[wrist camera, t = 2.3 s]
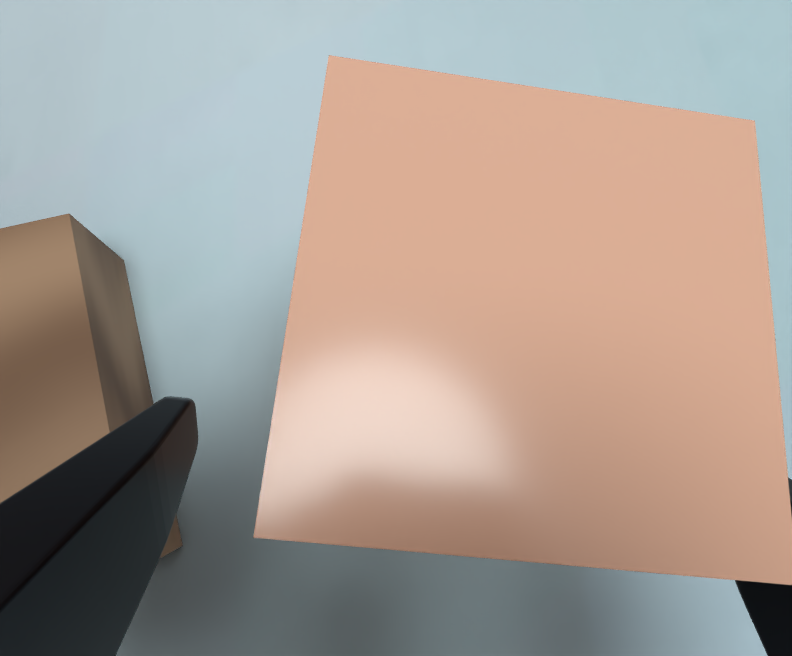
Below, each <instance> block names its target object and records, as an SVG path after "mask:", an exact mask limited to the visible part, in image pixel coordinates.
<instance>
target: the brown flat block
mask: <svg viewBox="0 0 792 656" xmlns="http://www.w3.org/2000/svg"><path fill="white" fill-rule="evenodd" d="M152 405H153V400H152V395H151V390H150V385H149V380H148V375H147V371H146V366H145V361H144V356H143V351H142V346H141V341H140V337H139V332H138V327H137V322H136V317H135V312H134V307H133V303H132V298H131V293H130V288H129V283H128V278H127V274H126V269H125V264H124V260H123V259H122V258H120V257H119V256H118V255H117V254H116V253H115V252H113V251H112V250H111V249H110V248H109V247H108V246H106V245H105V244H104V243H103V242H102V241H101V240H99V239H98V238H97V237H96V236H95V235H94V234H92V233H91V232H90V231H89V230H88V229H87V228H85V227H84V226H83V225H82V224H81V223H80V222H78V221H77V220H76V219H75V218H74V217H73V216H71V215H70V214H65V215H60V216H56V217H51V218H47V219H42V220H37V221H33V222H28V223H24V224H19V225H15V226H10V227H6V228H1V229H0V503H1V502H3V501H4V500H6V499H7V498H9V497H10V496H12V495H13V494H15V493H17V492H18V491H20V490H21V489H23V488H24V487H26V486H27V485H29V484H31V483H32V482H34V481H35V480H37V479H38V478H40V477H41V476H43V475H45V474H46V473H48V472H49V471H51V470H52V469H54V468H55V467H57V466H58V465H60V464H62V463H63V462H65V461H66V460H68V459H69V458H71V457H72V456H74V455H76V454H77V453H79V452H80V451H82V450H83V449H85V448H86V447H88V446H90V445H91V444H93V443H94V442H96V441H97V440H99V439H100V438H102V437H104V436H105V435H107V434H108V433H110V432H111V431H113V430H114V429H116V428H118V427H119V426H121V425H122V424H124V423H125V422H127V421H128V420H130V419H132V418H133V417H135V416H136V415H138V414H139V413H141V412H142V411H144V410H145V409H147V408H149V407H150V406H152ZM181 546H183V545H182V540H181V536H180V531H179V526H178V521H177V516H175V519H174V522H173V525H172V528H171V531H170V534H169V537H168V539H167V542H166V544H165V547H164V549H163V551H162V554H161V556H160V558H162V557H164V556H165V555H167V554H169V553H171V552H172V551H174V550H176V549H178V548H179V547H181ZM160 558H159V559H160Z"/></svg>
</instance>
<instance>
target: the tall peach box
mask: <svg viewBox="0 0 792 656" xmlns="http://www.w3.org/2000/svg"><path fill="white" fill-rule="evenodd" d="M253 538H263V539H274V540H285V541H297V542H308V543H319V544H331V545H342V546H354V547H365V548H376V549H388V550H399V551H410V552H422V553H433V554H445V555H456V556H467V557H479V558H490V559H501V560H513V561H524V562H535V563H547V564H558V565H570V566H581V567H592V568H604V569H615V570H626V571H638V572H649V573H661V574H672V575H683V576H695V577H706V578H717V579H729V580H740V581H752V582H763V583H774V584H786V585H792V516H791V505H790V494H789V483H788V473H787V462H786V451H785V440H784V430H783V419H782V408H781V397H780V387H779V376H778V365H777V354H776V343H775V333H774V322H773V311H772V300H771V290H770V279H769V268H768V257H767V247H766V236H765V225H764V214H763V204H762V193H761V182H760V171H759V161H758V150H757V139H756V128H755V121H753V120H746V119H740V118H733V117H727V116H720V115H714V114H707V113H701V112H694V111H688V110H681V109H675V108H668V107H662V106H655V105H649V104H642V103H636V102H629V101H623V100H616V99H610V98H603V97H597V96H590V95H584V94H577V93H571V92H564V91H558V90H551V89H545V88H538V87H532V86H525V85H519V84H512V83H506V82H499V81H493V80H486V79H480V78H473V77H467V76H460V75H454V74H447V73H441V72H434V71H428V70H421V69H415V68H408V67H402V66H395V65H389V64H382V63H376V62H369V61H363V60H356V59H350V58H343V57H337V56H330V55H329V58H328V64H327V71H326V77H325V84H324V90H323V96H322V103H321V109H320V115H319V122H318V128H317V135H316V141H315V147H314V154H313V160H312V166H311V173H310V179H309V186H308V192H307V198H306V205H305V211H304V217H303V224H302V230H301V236H300V243H299V249H298V256H297V262H296V268H295V275H294V281H293V287H292V294H291V300H290V307H289V313H288V319H287V326H286V332H285V338H284V345H283V351H282V358H281V364H280V370H279V377H278V383H277V389H276V396H275V402H274V409H273V415H272V421H271V428H270V434H269V440H268V447H267V453H266V460H265V466H264V472H263V479H262V485H261V491H260V498H259V504H258V510H257V517H256V523H255V530H254V536H253Z"/></svg>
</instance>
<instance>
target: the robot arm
mask: <svg viewBox="0 0 792 656" xmlns="http://www.w3.org/2000/svg"><path fill="white" fill-rule="evenodd" d="M197 446H198V428H197V418H196V407H195V403H194V401H193V400H192V399H190V398H182V397H172V396H169V397H165V398H163V399H161V400H159V401H158V402H156V403H155V404H153V405H152V406H150V407H149V408H147V409H145V410H144V411H142V412H141V413H139V414H138V415H136V416H135V417H133V418H132V419H130V420H128V421H127V422H125V423H124V424H122V425H121V426H119V427H118V428H116V429H114V430H113V431H111V432H110V433H108V434H107V435H105V436H104V437H102V438H100V439H99V440H97V441H96V442H94V443H93V444H91V445H90V446H88V447H86V448H85V449H83V450H82V451H80V452H79V453H77V454H76V455H74V456H72V457H71V458H69V459H68V460H66V461H65V462H63V463H62V464H60V465H58V466H57V467H55V468H54V469H52V470H51V471H49V472H48V473H46V474H45V475H43V476H41V477H40V478H38V479H37V480H35V481H34V482H32V483H31V484H29V485H27V486H26V487H24V488H23V489H21V490H20V491H18V492H17V493H15V494H13V495H12V496H10V497H9V498H7V499H6V500H4V501H3V502H1V503H0V656H116V654H117V651H118V649H119V647H120V645H121V642H122V640H123V638H124V636H125V634H126V631H127V629H128V627H129V625H130V623H131V620H132V618H133V616H134V614H135V611H136V609H137V607H138V605H139V603H140V600H141V598H142V596H143V594H144V592H145V589H146V587H147V585H148V583H149V580H150V578H151V576H152V574H153V572H154V569H155V567H156V565H157V563H158V561H159V558H160V556H161V554H162V551H163V549H164V547H165V544H166V542H167V539H168V537H169V534H170V531H171V528H172V525H173V522H174V519H175V516H176V513H177V509H178V506H179V503H180V500H181V497H182V494H183V491H184V488H185V485H186V482H187V478H188V475H189V472H190V469H191V466H192V463H193V460H194V457H195V454H196V450H197ZM788 483H789V494H790V505H791V516H792V480H791V479H790V478H788ZM735 581H736V584H737V587H738V590H739V592H740V594H741V597H742V599H743V601H744V604H745V606H746V608H747V611H748V613H749V615H750V617H751V619H752V622H753V624H754V626H755V628H756V631H757V633H758V635H759V637H760V640H761V642H762V644H763V646H764V648H765V651H766V653H767V655H768V656H792V585H786V584H774V583H763V582H752V581H740V580H735Z"/></svg>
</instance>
